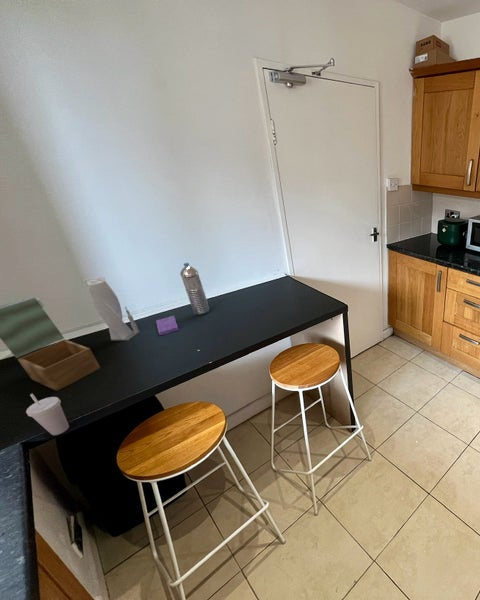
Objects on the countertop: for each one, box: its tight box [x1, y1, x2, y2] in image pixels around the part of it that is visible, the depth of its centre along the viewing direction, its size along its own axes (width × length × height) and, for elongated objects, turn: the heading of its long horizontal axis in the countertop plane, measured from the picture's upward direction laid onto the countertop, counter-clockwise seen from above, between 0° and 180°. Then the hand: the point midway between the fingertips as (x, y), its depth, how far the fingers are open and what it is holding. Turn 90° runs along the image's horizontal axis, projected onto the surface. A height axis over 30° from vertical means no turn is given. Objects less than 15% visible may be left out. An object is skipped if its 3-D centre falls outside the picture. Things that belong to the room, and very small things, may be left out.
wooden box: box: [17, 338, 102, 392], centre depth 109 cm, size 16×13×9 cm
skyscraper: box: [82, 276, 141, 342], centre depth 126 cm, size 8×8×28 cm
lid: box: [0, 298, 65, 359], centre depth 107 cm, size 16×13×1 cm
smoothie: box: [25, 393, 70, 436], centre depth 86 cm, size 6×6×14 cm
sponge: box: [155, 315, 180, 336], centre depth 138 cm, size 7×13×2 cm, turn 39°
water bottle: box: [179, 262, 211, 316], centre depth 145 cm, size 7×7×25 cm
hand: (12, 317), depth 107 cm, fingers closed
